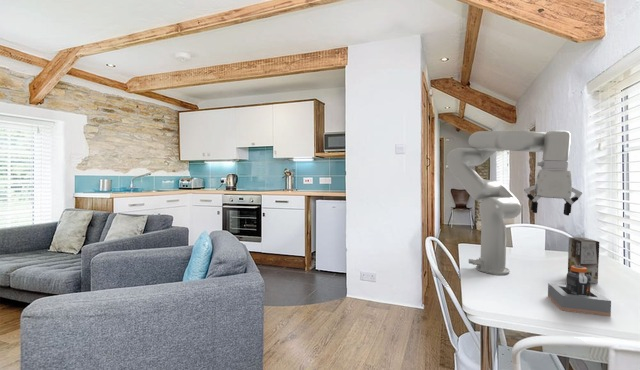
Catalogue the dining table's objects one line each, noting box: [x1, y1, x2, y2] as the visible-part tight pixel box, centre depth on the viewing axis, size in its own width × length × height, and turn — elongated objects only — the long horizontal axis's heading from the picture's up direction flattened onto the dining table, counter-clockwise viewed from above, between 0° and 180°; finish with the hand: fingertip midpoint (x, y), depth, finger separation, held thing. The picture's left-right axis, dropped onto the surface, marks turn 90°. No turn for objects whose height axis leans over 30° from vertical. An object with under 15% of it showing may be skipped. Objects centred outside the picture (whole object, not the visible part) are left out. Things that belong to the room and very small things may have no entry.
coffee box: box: [567, 236, 600, 284], centre depth 129 cm, size 9×6×16 cm
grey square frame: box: [547, 282, 612, 317], centre depth 102 cm, size 12×12×4 cm
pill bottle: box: [565, 266, 592, 296], centre depth 102 cm, size 6×6×11 cm
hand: (550, 213), depth 117 cm, fingers open, 9 cm apart
